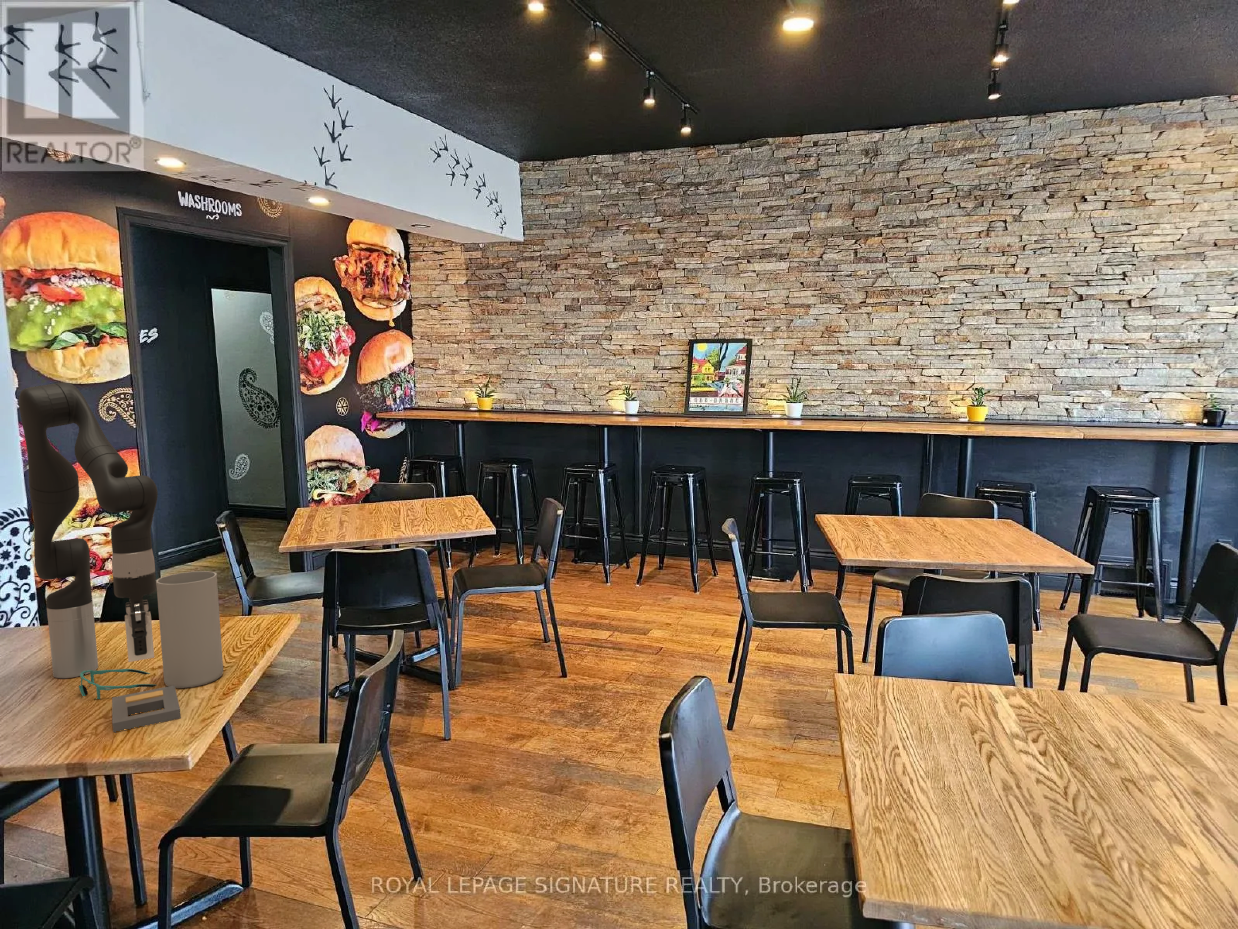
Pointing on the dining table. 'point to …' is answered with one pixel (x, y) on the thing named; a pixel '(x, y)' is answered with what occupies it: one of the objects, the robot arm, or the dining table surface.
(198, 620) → the cylinder vase
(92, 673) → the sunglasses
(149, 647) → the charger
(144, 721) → the plate
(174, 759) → the dining table surface
